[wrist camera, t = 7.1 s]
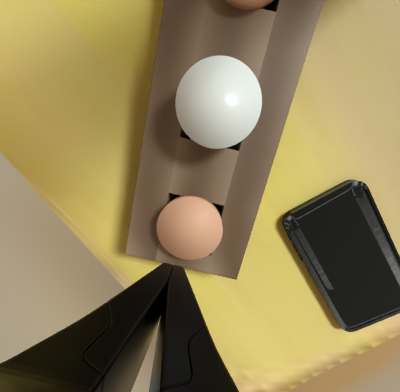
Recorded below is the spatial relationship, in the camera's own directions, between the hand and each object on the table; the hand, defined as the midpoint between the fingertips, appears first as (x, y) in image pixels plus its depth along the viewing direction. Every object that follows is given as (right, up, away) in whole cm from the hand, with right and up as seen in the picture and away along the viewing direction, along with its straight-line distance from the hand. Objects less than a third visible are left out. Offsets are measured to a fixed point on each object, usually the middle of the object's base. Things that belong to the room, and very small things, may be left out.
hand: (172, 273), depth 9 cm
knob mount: (+3, +10, +9) cm, 14 cm away
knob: (+1, +2, +11) cm, 11 cm away
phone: (+16, -3, +12) cm, 20 cm away
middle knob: (+3, +10, +7) cm, 12 cm away
